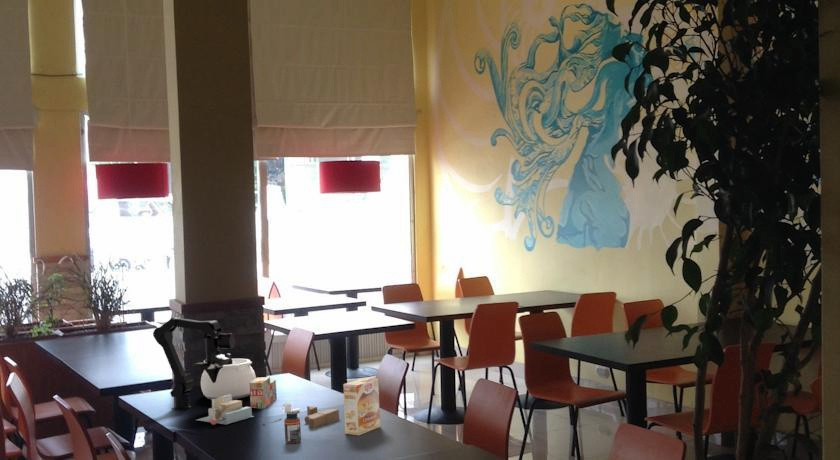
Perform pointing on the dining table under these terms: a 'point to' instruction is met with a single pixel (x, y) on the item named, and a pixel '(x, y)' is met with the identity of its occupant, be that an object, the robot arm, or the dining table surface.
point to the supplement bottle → (292, 428)
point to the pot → (229, 380)
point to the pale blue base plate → (231, 416)
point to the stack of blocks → (262, 392)
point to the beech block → (229, 406)
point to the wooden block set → (320, 417)
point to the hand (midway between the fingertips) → (214, 382)
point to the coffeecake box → (361, 406)
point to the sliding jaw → (215, 410)
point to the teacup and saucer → (289, 408)
